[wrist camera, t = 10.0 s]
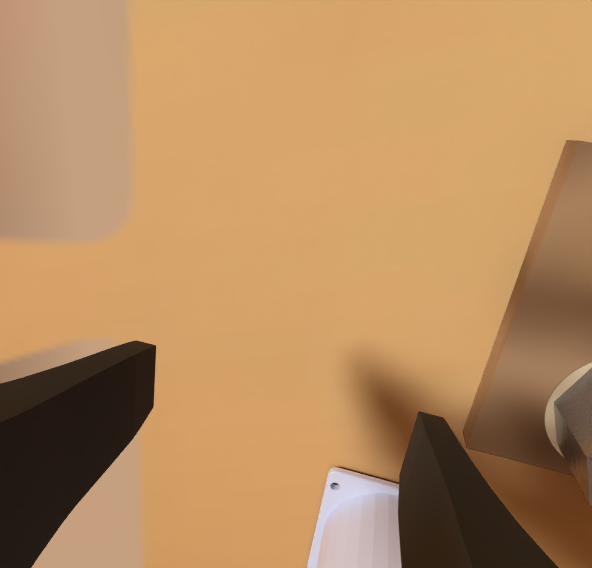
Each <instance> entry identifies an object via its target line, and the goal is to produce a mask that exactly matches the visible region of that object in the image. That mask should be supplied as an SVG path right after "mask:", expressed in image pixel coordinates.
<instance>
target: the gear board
mask: <svg viewBox="0 0 592 568" xmlns="http://www.w3.org/2000/svg"><path fill="white" fill-rule="evenodd" d="M591 368H592V143H590V142H584V141H573V140H567V141H566V144H565V146H564V149H563V152H562V155H561V158H560V160H559V163H558V166H557V169H556V172H555V175H554V177H553V180H552V183H551V186H550V189H549V191H548V194H547V197H546V200H545V203H544V205H543V208H542V211H541V214H540V217H539V219H538V222H537V225H536V228H535V231H534V233H533V236H532V239H531V242H530V245H529V247H528V250H527V253H526V256H525V259H524V262H523V264H522V267H521V270H520V273H519V276H518V278H517V281H516V284H515V287H514V290H513V292H512V295H511V298H510V301H509V304H508V306H507V309H506V312H505V315H504V318H503V320H502V323H501V326H500V329H499V332H498V335H497V337H496V340H495V343H494V346H493V349H492V351H491V354H490V357H489V360H488V363H487V365H486V368H485V371H484V374H483V377H482V379H481V382H480V385H479V388H478V391H477V393H476V396H475V399H474V402H473V405H472V408H471V410H470V413H469V416H468V419H467V422H466V424H465V427H464V430H463V435H464V439H465V443H466V448H468V449H472V450H476V451H480V452H484V453H488V454H492V455H495V456H499V457H503V458H507V459H511V460H515V461H519V462H522V463H526V464H530V465H534V466H538V467H542V468H546V469H550V470H553V471H557V472H561V473H565V474H569V475H573V473H572V471H571V469H570V467H569V465H568V464H567V462H566V460H565V458H564V456H563V454H562V452H561V450H560V449H559V447H558V445H557V439H556V427H555V415H554V401H555V400H557V399H558V398H559V397H560V396H561V395H562V394H563V393H564V392H565V391H566V390H567V389H569V388H570V387H571V386H572V385H573V384H574V383H575V382H576V381H577V380H578V379H580V378H581V377H582V376H583V375H584V374H585V373H586V372H587V371H588V370H589V369H591ZM573 476H574V475H573Z"/></svg>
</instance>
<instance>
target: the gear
mask: <svg viewBox="0 0 592 568" xmlns="http://www.w3.org/2000/svg"><path fill="white" fill-rule="evenodd" d="M554 415H555V427H556V439H557V445H558V447H559V449H560V450H561V452H562V454H563V456H564V458H565V460H566V462H567V464H568V465H569V467H570V469H571V471H572V473H573V475H574V477H575V479H576V480H577V482H578V484H579V486H580V488H581V490H582V492H583V494H584V495H585V497H586V499H587V501H588V503H589V505H590V506H592V368H591V369H589V370H588V371H587V372H586V373H585V374H584V375H583V376H582V377H581V378H580V379H578V380H577V381H576V382H575V383H574V384H573V385H572V386H571V387H570V388H569V389H567V390H566V391H565V392H564V393H563V394H562V395H561V396H560V397H559V398H558V399H557V400H555V401H554Z"/></svg>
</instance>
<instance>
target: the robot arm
mask: <svg viewBox="0 0 592 568" xmlns="http://www.w3.org/2000/svg"><path fill="white" fill-rule="evenodd" d="M155 359H156V345H152V344H148V343H144V342H140V341H132V342H128V343H125V344H122V345H119V346H116V347H113V348H110V349H107V350H105V351H101V352H99V353H96V354H93V355H90V356H87V357H84V358H82V359H79V360H76V361H73V362H70V363H67V364H64V365H61V366H58V367H55V368H52V369H49V370H46V371H43V372H39V373H36V374H33V375H30V376H26V377H24V378H20V379H16V380H13V381H9V382H5V383H1V384H0V568H31V567H32V566H33V564H34V563H35V561H36V560H37V558H38V557H39V555H40V554H41V552H42V551H43V549H44V548H45V547H46V545H47V544H48V542H49V541H50V539H51V538H52V537H53V535H54V534H55V533H56V531H57V530H58V528H59V527H60V526H61V524H62V523H63V521H64V520H65V519H66V518H67V516H68V515H69V514H70V512H71V511H72V510H73V508H74V507H75V506H76V505H77V504H78V502H79V501H80V500H81V499H82V498H83V497H84V496H85V494H86V493H87V492H88V491H89V490H90V489H91V487H92V486H93V485H94V484H95V483H96V481H97V480H98V479H99V478H100V477H101V476H102V475H103V473H104V472H105V471H106V470H107V469H108V468H109V466H110V465H111V464H112V463H113V462H114V461H115V459H116V458H117V457H118V456H119V455H120V453H121V452H122V451H123V450H124V448H125V447H126V446H127V445H128V444H129V443H130V442H131V440H132V439H133V438H134V436H135V435H136V433H137V432H138V430H139V429H140V427H141V426H142V425H143V423H144V421H145V420H146V418H147V417H148V415H149V413H150V412H151V410H152V408H153V405H154V382H155ZM333 483H337V484H339V485H334V484H333ZM307 568H558V567H557V566H556V565H555V563H554V562H553V561H552V560H551V559H550V558H549V557H548V556H547V555H546V554H545V553H544V552H543V551H542V549H541V548H540V547H539V546H538V545H537V544H536V543H535V542H534V541H533V539H532V538H531V537H530V536H529V535H528V534H527V533H526V532H525V530H524V529H523V528H522V527H521V526H520V525H519V523H518V522H517V521H516V520H515V519H514V517H513V516H512V515H511V514H510V512H509V511H508V510H507V508H506V507H505V506H504V505H503V503H502V502H501V501H500V500H499V498H498V497H497V496H496V494H495V493H494V492H493V490H492V489H491V488H490V486H489V485H488V484H487V482H486V481H485V479H484V478H483V477H482V475H481V474H480V472H479V471H478V470H477V468H476V467H475V465H474V464H473V462H472V461H471V459H470V458H469V456H468V455H467V453H466V452H465V450H464V449H463V447H462V446H461V444H460V443H459V441H458V439H457V438H456V436H455V435H454V433H453V432H452V430H451V429H450V427H449V425H448V424H447V422H446V421H445V419H444V418H443V417H439V416H435V415H431V414H427V413H423V412H419V413H418V416H417V419H416V423H415V426H414V429H413V432H412V436H411V439H410V442H409V445H408V449H407V452H406V455H405V459H404V462H403V465H402V468H401V472H400V478H399V484H396V483H393V482H389V481H385V480H382V479H378V478H374V477H371V476H367V475H364V474H360V473H356V472H353V471H349V470H345V469H342V468H337V467H335V468H332V469H330V471H329V473H328V477H327V481H326V486H325V490H324V494H323V499H322V503H321V507H320V512H319V516H318V521H317V525H316V529H315V534H314V538H313V542H312V547H311V551H310V555H309V560H308V564H307Z"/></svg>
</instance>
